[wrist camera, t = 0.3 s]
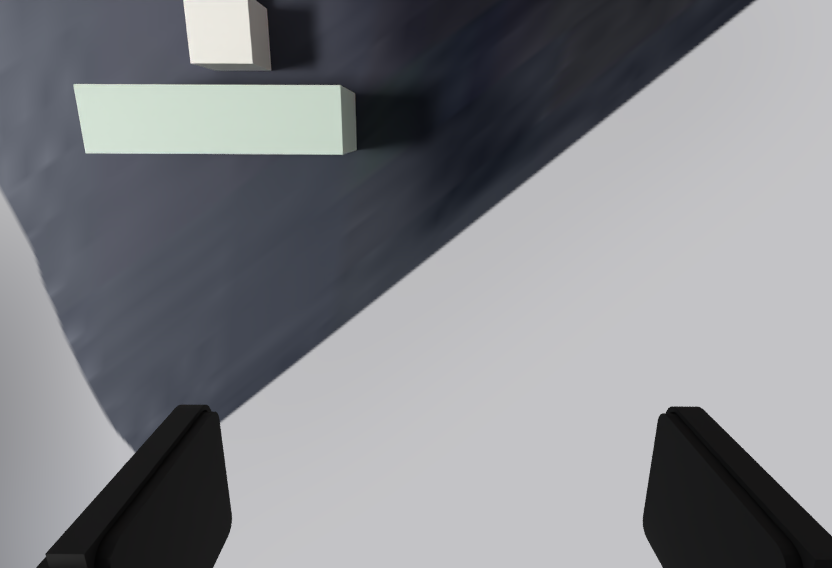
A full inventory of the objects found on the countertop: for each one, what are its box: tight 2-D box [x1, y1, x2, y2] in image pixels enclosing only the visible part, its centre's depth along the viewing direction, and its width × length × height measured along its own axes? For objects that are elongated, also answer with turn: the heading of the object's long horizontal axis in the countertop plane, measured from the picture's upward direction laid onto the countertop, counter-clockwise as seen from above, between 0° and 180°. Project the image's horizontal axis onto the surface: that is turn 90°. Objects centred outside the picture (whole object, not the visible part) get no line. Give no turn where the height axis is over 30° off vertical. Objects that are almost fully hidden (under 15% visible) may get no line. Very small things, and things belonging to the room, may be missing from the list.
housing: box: [73, 84, 357, 155], centre depth 34 cm, size 4×16×7 cm, turn 90°
